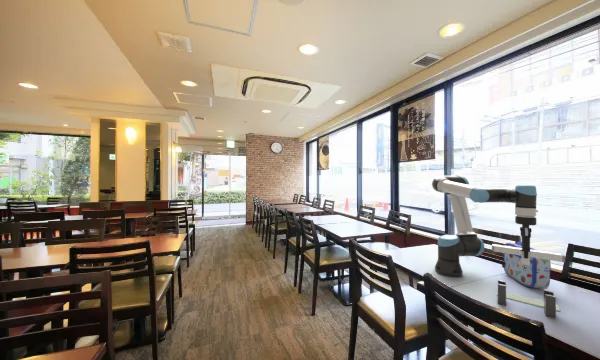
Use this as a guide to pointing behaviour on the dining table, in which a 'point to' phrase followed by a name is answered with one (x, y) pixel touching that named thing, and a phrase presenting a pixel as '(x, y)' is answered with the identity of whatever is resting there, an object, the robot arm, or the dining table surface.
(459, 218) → the robot arm
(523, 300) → the mat
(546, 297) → the post right
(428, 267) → the dining table surface
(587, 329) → the dining table surface
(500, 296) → the post left
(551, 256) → the rail
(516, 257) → the lunch box
